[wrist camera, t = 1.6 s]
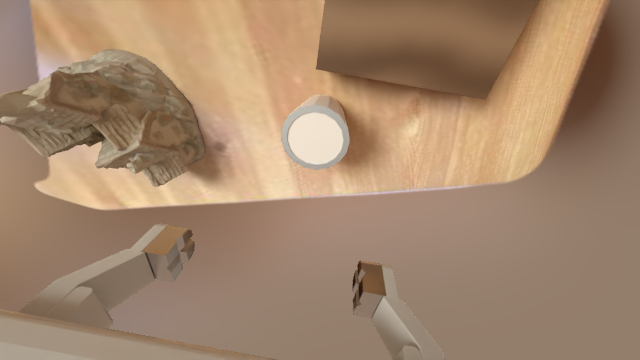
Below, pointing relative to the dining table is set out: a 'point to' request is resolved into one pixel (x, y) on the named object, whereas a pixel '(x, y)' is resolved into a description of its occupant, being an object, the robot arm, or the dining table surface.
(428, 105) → the dining table surface
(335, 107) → the white cup
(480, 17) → the walnut block
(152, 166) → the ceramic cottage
